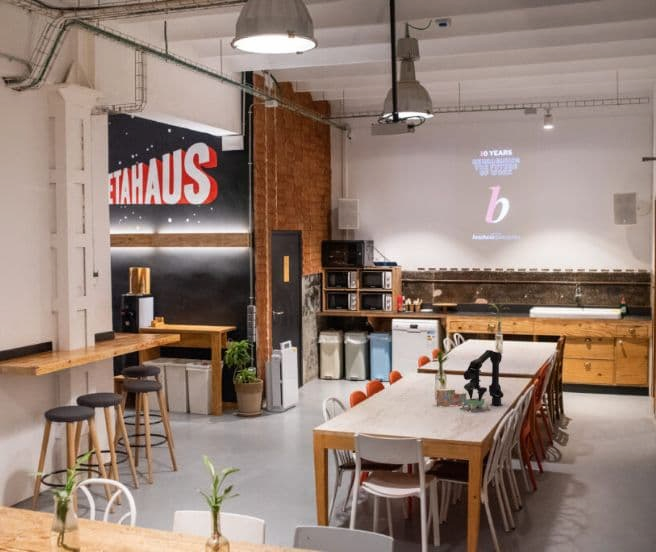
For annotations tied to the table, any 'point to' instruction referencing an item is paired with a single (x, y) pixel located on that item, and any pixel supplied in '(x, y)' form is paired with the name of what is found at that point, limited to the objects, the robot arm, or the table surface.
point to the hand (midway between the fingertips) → (475, 400)
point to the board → (474, 402)
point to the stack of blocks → (450, 397)
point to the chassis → (475, 408)
